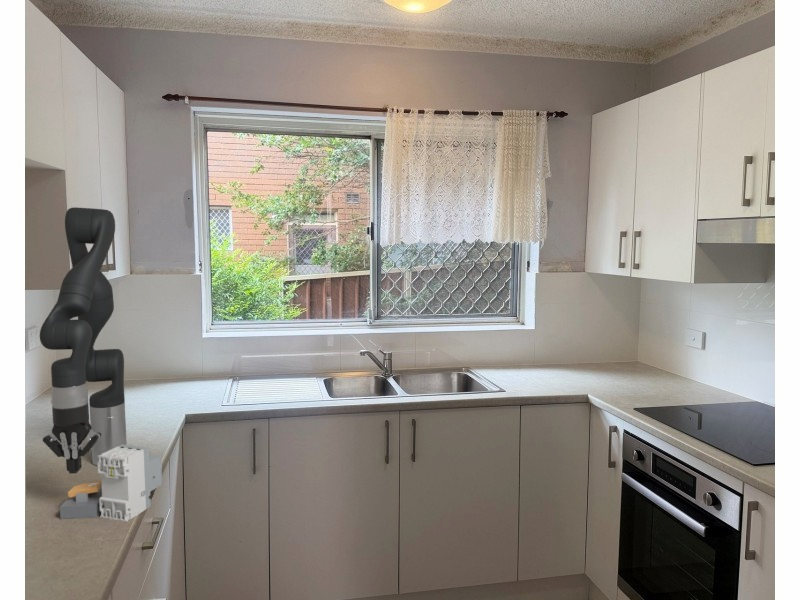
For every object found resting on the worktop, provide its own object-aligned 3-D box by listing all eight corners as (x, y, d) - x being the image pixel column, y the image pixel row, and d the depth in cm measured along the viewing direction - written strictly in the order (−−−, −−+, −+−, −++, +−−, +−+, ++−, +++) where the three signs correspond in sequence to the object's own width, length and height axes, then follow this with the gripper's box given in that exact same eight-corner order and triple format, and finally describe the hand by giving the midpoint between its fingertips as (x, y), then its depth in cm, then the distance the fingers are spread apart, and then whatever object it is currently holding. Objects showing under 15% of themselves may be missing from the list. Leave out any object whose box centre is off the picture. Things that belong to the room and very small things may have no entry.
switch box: (79, 499, 143) (78, 480, 143) (112, 498, 144) (111, 479, 144) (60, 519, 134) (59, 498, 133) (96, 517, 135) (95, 496, 134)
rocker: (76, 492, 140) (74, 485, 140) (105, 486, 141) (103, 479, 141) (69, 499, 136) (67, 492, 136) (98, 493, 137) (97, 486, 137)
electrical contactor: (167, 495, 146) (165, 438, 145) (126, 521, 133) (123, 459, 131) (142, 491, 148) (140, 435, 147) (100, 517, 135) (97, 455, 133)
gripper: (105, 397, 140) (109, 465, 142) (48, 398, 139) (52, 467, 141) (93, 406, 133) (96, 477, 135) (32, 408, 131) (37, 480, 133)
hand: (74, 472), depth 138 cm, fingers closed
